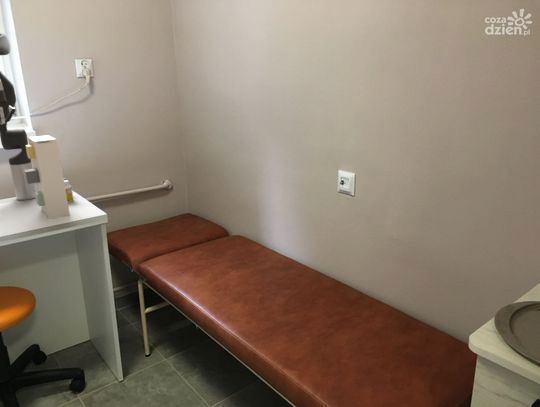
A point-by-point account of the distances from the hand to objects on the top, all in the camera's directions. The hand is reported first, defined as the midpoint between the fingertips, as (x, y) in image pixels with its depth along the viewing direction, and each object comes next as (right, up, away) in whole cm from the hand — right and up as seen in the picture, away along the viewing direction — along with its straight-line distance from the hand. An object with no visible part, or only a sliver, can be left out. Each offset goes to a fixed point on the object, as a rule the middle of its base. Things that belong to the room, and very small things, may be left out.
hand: (3, 132), depth 179 cm
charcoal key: (+11, -20, +4) cm, 23 cm away
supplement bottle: (+14, -28, +27) cm, 41 cm away
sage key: (+13, -29, +8) cm, 33 cm away
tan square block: (+13, -10, +2) cm, 16 cm away
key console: (+16, -33, +11) cm, 38 cm away
